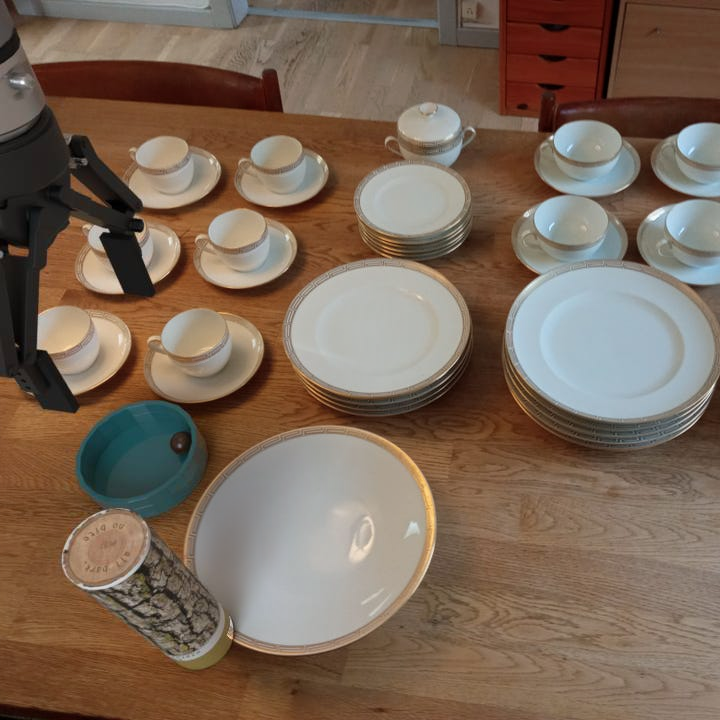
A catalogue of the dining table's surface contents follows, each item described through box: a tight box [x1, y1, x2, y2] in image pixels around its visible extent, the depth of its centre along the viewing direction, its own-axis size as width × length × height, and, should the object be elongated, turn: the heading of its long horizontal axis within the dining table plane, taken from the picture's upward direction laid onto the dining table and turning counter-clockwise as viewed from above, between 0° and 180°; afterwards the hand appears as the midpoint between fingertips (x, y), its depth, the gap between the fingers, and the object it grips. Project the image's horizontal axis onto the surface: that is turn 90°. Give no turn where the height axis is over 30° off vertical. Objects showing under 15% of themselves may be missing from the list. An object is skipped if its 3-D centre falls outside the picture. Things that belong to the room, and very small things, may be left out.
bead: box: [170, 431, 192, 455], centre depth 91 cm, size 3×3×3 cm
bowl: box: [74, 400, 209, 520], centre depth 90 cm, size 14×14×4 cm
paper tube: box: [61, 508, 233, 671], centre depth 69 cm, size 7×7×25 cm
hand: (104, 346), depth 62 cm, fingers open, 13 cm apart
